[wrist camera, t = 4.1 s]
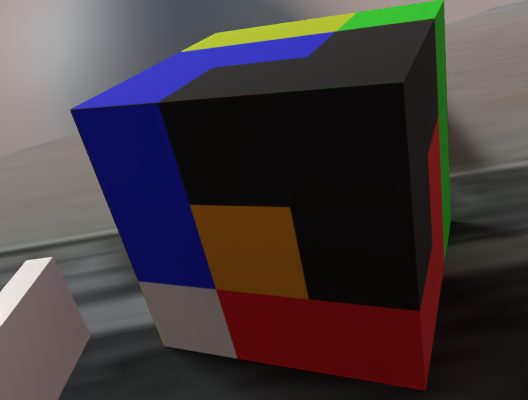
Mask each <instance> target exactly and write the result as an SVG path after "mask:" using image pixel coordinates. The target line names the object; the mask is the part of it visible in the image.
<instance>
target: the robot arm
mask: <svg viewBox="0 0 528 400" xmlns="http://www.w3.org/2000/svg"><path fill="white" fill-rule="evenodd" d="M90 336H91V335H90V333H89V331H88V329H87V327H86V325H85V322H84V320H83V318H82V316H81V314H80V312H79V310H78V308H77V306H76V304H75V302H74V300H73V298H72V296H71V293H70V291H69V289H68V287H67V285H66V283H65V281H64V279H63V277H62V275H61V273H60V271H59V269H58V267H57V265H56V262H55V260H54V258H53V257H49V258H42V259H35V260H28V261H26V262H25V263H24V264H23V265H22V266H21V268H20V269H19V270H18V271H17V273H16V274H15V275H14V276H13V277H12V279H11V280H10V281H9V282H8V283H7V285H6V286H5V287H4V288H3V290H2V291H1V292H0V400H58V398H59V396H60V394H61V392H62V390H63V388H64V386H65V384H66V382H67V380H68V378H69V376H70V375H71V373H72V371H73V369H74V367H75V365H76V363H77V361H78V359H79V357H80V355H81V353H82V351H83V349H84V347H85V345H86V343H87V341H88V339H89V337H90Z"/></svg>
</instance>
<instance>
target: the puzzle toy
mask: <svg viewBox="0 0 528 400" xmlns="http://www.w3.org/2000/svg"><path fill="white" fill-rule="evenodd" d="M444 22H445V20H444V0H439V1H432V2H425V3H418V4H412V5H405V6H398V7H391V8H384V9H378V10H370V11H364V12H357V13H350V14H343V15H337V16H330V17H323V18H316V19H309V20H302V21H295V22H289V23H282V24H275V25H268V26H261V27H255V28H248V29H241V30H235V31H227V32H221V33H215V34H214V35H212V36H210V37H208V38H206V39H204V40H202V41H201V42H198V43H196V44H194V45H193V46H191V47H189V48H187V49H185V50H183V51H181V52H179V53H177V54H176V55H174V56H172V57H170V58H168V59H166V60H164V61H162V62H160V63H158V64H156V65H154V66H153V67H150V68H149V69H147V70H145V71H143V72H141V73H139V74H137V75H135V76H133V77H131V78H129V79H128V80H126V81H124V82H122V83H120V84H118V85H116V86H114V87H112V88H110V89H109V90H107V91H105V92H103V93H101V94H99V95H97V96H95V97H93V98H91V99H89V100H87V101H86V102H84V103H82V104H80V105H78V106H76V107H74V108H72V109H70V111H71V113H72V116H73V118H74V121H75V124H76V126H77V128H78V131H79V134H80V136H81V139H82V141H83V144H84V146H85V149H86V151H87V154H88V156H89V159H90V161H91V164H92V166H93V169H94V171H95V174H96V176H97V179H98V181H99V184H100V186H101V189H102V191H103V194H104V196H105V199H106V201H107V204H108V206H109V209H110V212H111V214H112V217H113V219H114V222H115V224H116V227H117V229H118V232H119V234H120V237H121V239H122V242H123V244H124V247H125V249H126V252H127V254H128V257H129V259H130V262H131V264H132V267H133V269H134V272H135V274H136V277H137V279H138V282H139V284H140V287H141V289H142V292H143V294H144V297H145V300H146V302H147V305H148V307H149V310H150V312H151V315H152V317H153V320H154V322H155V325H156V327H157V330H158V332H159V335H160V337H161V340H162V342H163V345H164V346H167V347H172V348H178V349H184V350H190V351H196V352H202V353H208V354H213V355H219V356H225V357H231V358H237V359H243V360H249V361H255V362H260V363H266V364H272V365H278V366H284V367H290V368H296V369H301V370H307V371H313V372H319V373H325V374H331V375H337V376H343V377H348V378H354V379H360V380H366V381H372V382H378V383H384V384H389V385H395V386H401V387H407V388H413V389H419V390H425V391H426V385H427V378H428V372H429V365H430V358H431V351H432V345H433V338H434V331H435V324H436V318H437V311H438V304H439V297H440V291H441V284H442V277H443V270H444V264H445V257H446V250H447V243H448V237H449V230H450V223H451V212H450V180H449V148H448V116H447V84H446V52H445V23H444Z"/></svg>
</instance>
